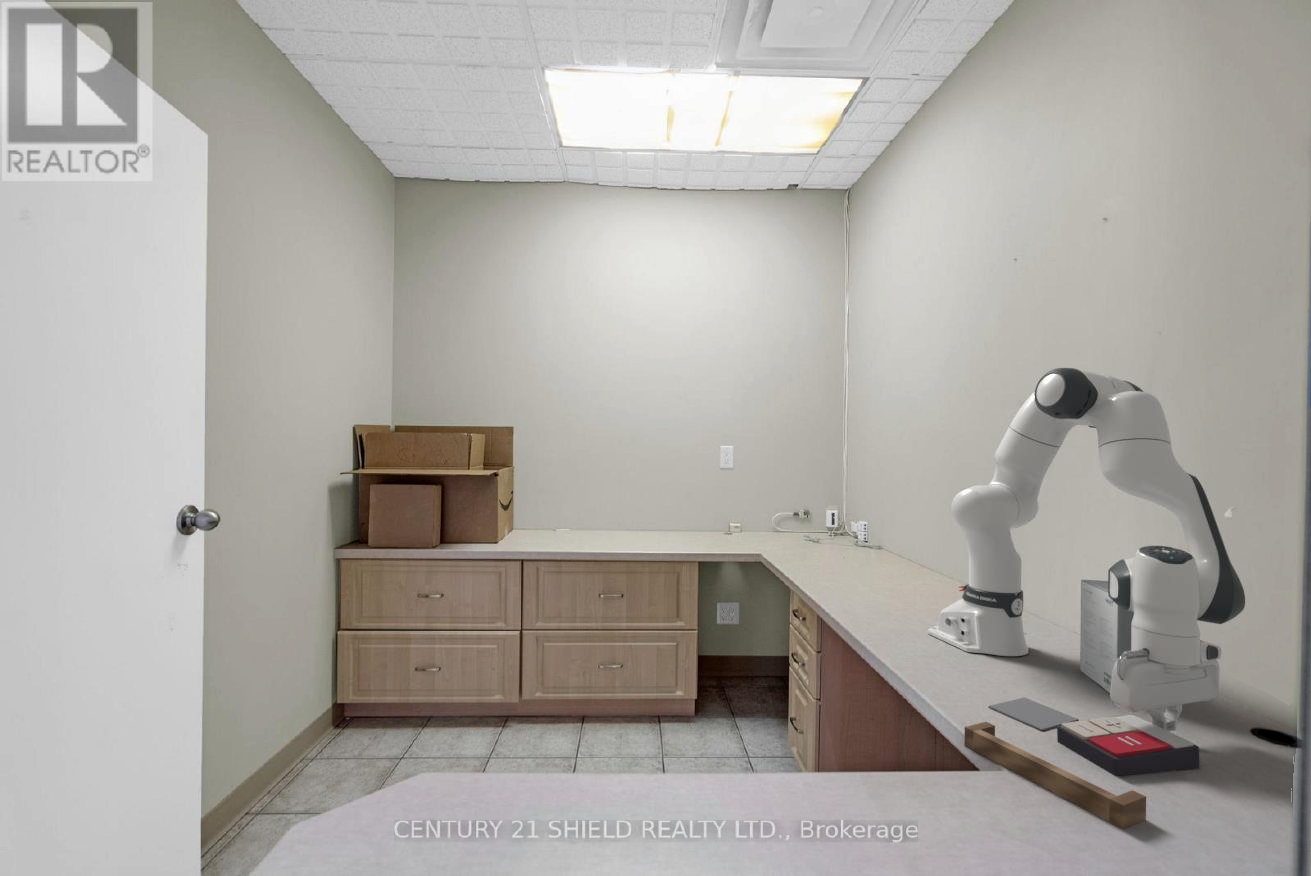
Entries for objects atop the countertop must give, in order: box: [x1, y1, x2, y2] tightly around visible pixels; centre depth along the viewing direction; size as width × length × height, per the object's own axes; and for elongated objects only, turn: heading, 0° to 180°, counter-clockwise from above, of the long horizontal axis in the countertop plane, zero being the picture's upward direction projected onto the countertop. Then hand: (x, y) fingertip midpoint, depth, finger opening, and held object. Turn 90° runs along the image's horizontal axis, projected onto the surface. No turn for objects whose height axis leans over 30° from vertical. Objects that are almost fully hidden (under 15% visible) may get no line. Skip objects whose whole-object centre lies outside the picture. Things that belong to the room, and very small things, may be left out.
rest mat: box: [988, 697, 1080, 732], centre depth 111 cm, size 10×10×1 cm
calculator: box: [1056, 714, 1201, 778], centre depth 97 cm, size 11×4×15 cm
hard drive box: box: [1079, 579, 1134, 694], centre depth 125 cm, size 16×8×20 cm, turn 168°
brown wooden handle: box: [963, 721, 1147, 830], centre depth 90 cm, size 23×5×3 cm, turn 24°
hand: (1164, 730), depth 102 cm, fingers closed
